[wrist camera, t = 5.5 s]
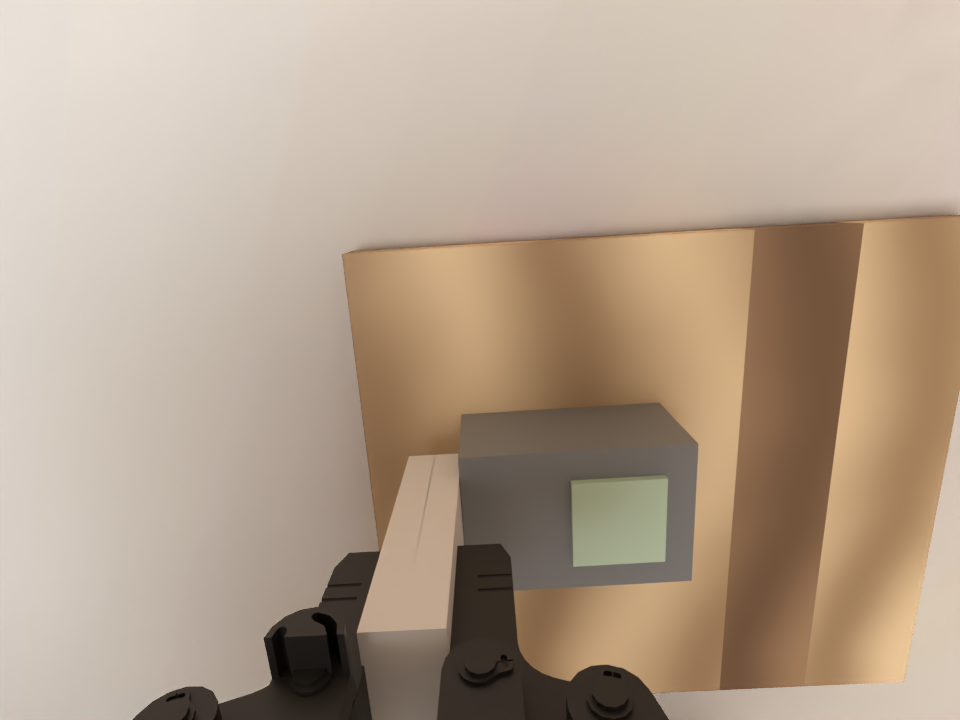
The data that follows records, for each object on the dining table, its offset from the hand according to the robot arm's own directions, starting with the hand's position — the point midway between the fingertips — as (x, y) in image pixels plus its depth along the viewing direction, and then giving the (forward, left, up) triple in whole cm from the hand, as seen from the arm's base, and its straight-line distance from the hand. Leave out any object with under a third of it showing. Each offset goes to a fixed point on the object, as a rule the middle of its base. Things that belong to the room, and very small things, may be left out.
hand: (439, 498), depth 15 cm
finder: (+4, 0, -2) cm, 4 cm away
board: (+7, -1, -3) cm, 7 cm away
